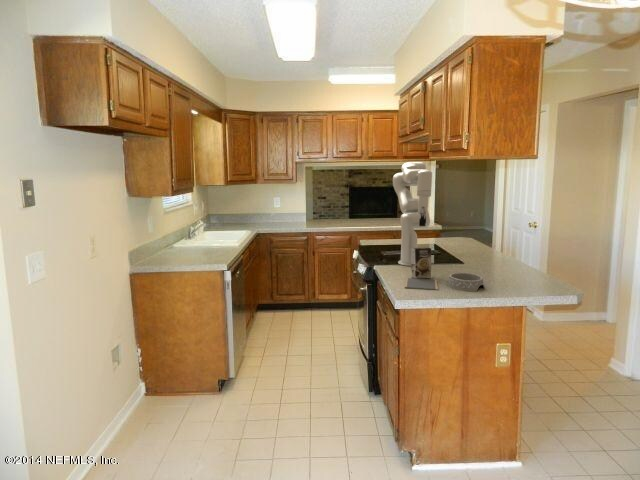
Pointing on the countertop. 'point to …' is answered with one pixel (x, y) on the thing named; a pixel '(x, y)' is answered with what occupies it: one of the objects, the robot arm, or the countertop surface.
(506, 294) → the countertop surface
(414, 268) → the coffee box
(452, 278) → the dog bowl
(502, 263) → the countertop surface
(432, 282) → the mat
